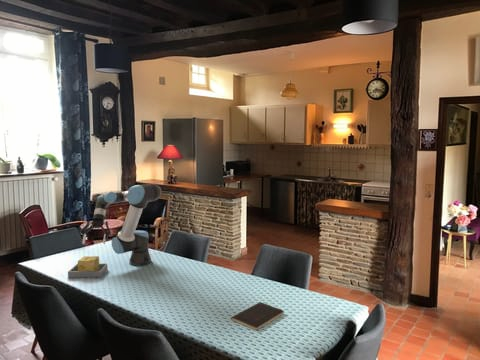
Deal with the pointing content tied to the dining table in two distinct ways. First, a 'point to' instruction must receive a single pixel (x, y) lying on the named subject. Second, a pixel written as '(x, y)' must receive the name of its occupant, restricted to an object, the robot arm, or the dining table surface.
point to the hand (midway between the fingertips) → (93, 243)
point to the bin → (87, 272)
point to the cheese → (88, 263)
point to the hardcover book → (257, 315)
